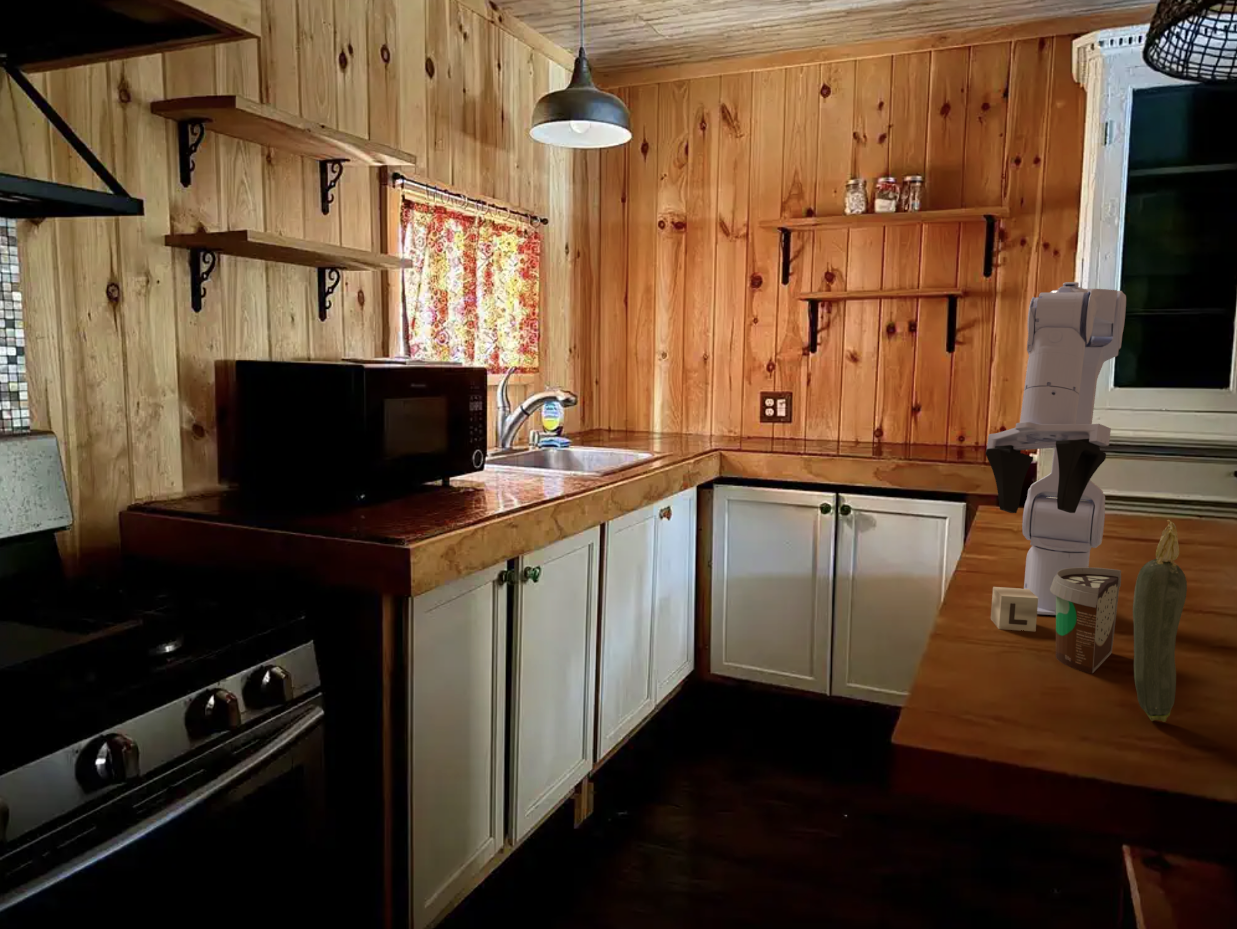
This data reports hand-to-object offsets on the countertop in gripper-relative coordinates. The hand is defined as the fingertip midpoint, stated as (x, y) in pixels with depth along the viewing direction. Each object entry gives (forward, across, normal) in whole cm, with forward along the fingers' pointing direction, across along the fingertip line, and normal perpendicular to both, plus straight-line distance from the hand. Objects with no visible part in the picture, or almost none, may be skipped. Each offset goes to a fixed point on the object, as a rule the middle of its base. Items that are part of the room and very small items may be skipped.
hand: (1036, 511), depth 104 cm
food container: (+15, -4, +14) cm, 20 cm away
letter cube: (+12, -15, +17) cm, 25 cm away
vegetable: (+20, +12, +5) cm, 24 cm away
